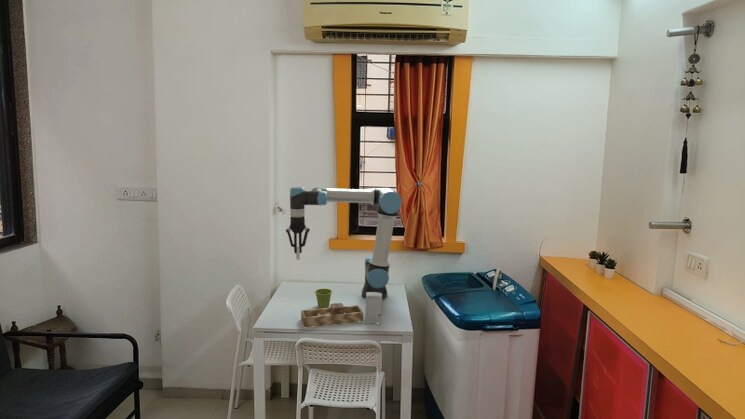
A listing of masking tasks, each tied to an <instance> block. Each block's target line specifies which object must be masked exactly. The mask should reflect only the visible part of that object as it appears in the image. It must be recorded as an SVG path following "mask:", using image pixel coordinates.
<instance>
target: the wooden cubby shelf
mask: <svg viewBox="0 0 745 419" xmlns="http://www.w3.org/2000/svg"><path fill="white" fill-rule="evenodd" d="M343 306H344V305H343ZM300 317H301V324H302V323H303V324H302V327H303V326H304V327H307V328H313V327H312V326H317V327H325V325H327V326H334V325H333V324H337V325H343V324H342V323H347V324H352V323H351V322H357V323H360V322H359V321H363V322H364V311H363V310H362V308H361V307H360V305H359V304H357V305H347V306H346V305H345V306H344V314H334V315H331V313H330V307H327V308H314V309H313V308H311V309H304V310H301V309H300ZM323 325H324V326H323ZM304 327H303V328H304Z"/></svg>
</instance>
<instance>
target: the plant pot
mask: <svg viewBox="0 0 745 419" xmlns="http://www.w3.org/2000/svg"><path fill="white" fill-rule="evenodd" d="M332 293H333V290H332V289H330V288H317V289H316V290H314V294H315V297H316V302H317V307H318V309H322V308H330V304H331V296H332Z"/></svg>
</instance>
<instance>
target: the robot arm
mask: <svg viewBox="0 0 745 419" xmlns="http://www.w3.org/2000/svg"><path fill="white" fill-rule="evenodd" d="M328 203H350V204H351V203H352V204H353V203H354V204H371V205H372V206H377V209H376V214H377V216H378V221H377V226H376V233H375V240H374V244H373V245H374V246H373V252H372V256H368V257H366V258H365V261H364V284H363V286H362V289H361V297H363V298H364V299H366V292H376V293H382V300H383V299H385V298H387V297H388V288H387V287H386V286H387V284H388V283H389V279H390V275H389V272H390V265H391V264H390V261H389V255H390V254H389V253H390V248H391V242H392V237H393V229H394V224H395V219H396V218H398V217H399V212H400V209H401V207H402V198H401V195H400V194H399V193H398V192H397V191H396V190H395V189H393V188H390V187H377V188H376V187H372V188H371V189H358V188H357V189H355V188H352V189H351V188H348V189H347V188H328V187H327V188H323V187H320V186H319V187H318V186H317V187H314V188H313V189H311V190H305V187H303V186H293V187H291V188H290V190H289V207H290V209H289V211H290V212H289V213H290V214H289V215H290V218H289V219H290V221H289V222H290V225H289V227H288V228H286V229H285V232H286V233H287V235H288V239H289V244H290V247H292V248H294V249H293V250H294V251H293V252H294V254H295V256H296V257H295V258H296V260H298V261H299V260H301V259H300V258H301V257H300V255H301V254H302V252H303V250H302V248H303V247H305V246H306V243H307V238H308V235H309V233H310V228H309V227H307V226H306V220H305V206H326V205H327V204H328ZM291 232H293V238H292V236H291ZM303 232H304V235H302V233H303ZM297 235H298V236H297ZM302 237H303V239H302ZM297 238H298V239H297Z"/></svg>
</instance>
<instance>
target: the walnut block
mask: <svg viewBox="0 0 745 419" xmlns="http://www.w3.org/2000/svg"><path fill="white" fill-rule="evenodd" d="M329 308H330V313H331V315H334V314H344V304H343V302H336V303H329Z"/></svg>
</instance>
